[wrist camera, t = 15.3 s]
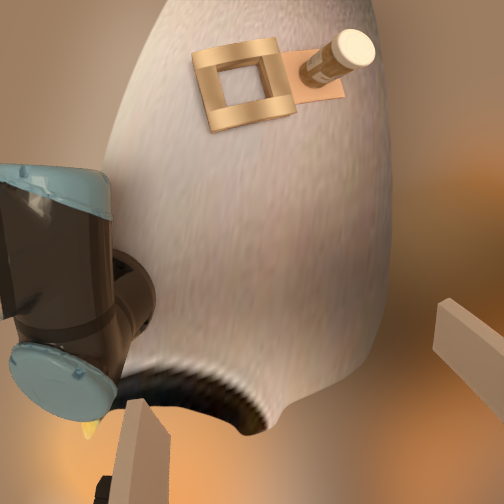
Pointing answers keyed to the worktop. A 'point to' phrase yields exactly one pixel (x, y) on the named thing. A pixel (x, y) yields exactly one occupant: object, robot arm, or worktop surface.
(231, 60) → the socket block
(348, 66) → the sprinkles bottle
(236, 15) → the worktop surface
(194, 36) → the worktop surface
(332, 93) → the terracotta tile
